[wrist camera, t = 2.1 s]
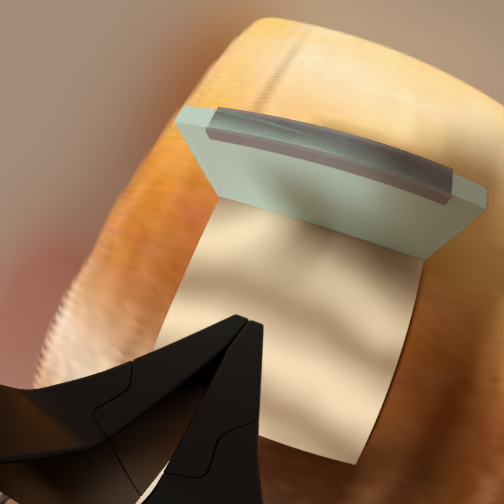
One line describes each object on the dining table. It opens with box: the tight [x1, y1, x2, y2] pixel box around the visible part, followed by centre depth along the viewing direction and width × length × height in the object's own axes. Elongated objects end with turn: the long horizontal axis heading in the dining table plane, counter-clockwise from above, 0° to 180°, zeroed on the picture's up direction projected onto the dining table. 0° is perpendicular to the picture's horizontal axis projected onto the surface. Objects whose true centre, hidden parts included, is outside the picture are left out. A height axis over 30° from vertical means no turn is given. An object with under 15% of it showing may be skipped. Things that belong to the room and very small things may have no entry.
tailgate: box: [174, 106, 487, 261], centre depth 17 cm, size 2×16×9 cm, turn 68°
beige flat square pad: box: [153, 197, 424, 465], centre depth 21 cm, size 16×16×2 cm
